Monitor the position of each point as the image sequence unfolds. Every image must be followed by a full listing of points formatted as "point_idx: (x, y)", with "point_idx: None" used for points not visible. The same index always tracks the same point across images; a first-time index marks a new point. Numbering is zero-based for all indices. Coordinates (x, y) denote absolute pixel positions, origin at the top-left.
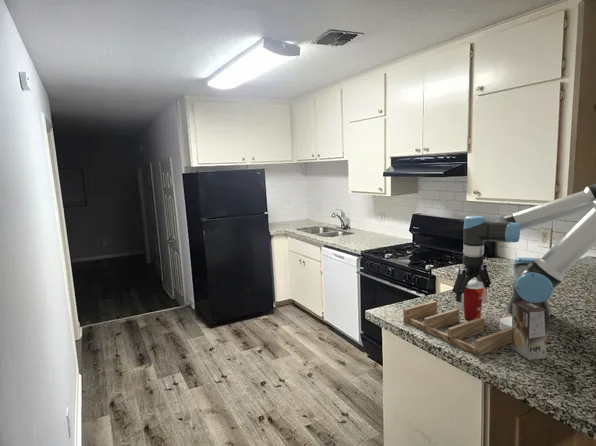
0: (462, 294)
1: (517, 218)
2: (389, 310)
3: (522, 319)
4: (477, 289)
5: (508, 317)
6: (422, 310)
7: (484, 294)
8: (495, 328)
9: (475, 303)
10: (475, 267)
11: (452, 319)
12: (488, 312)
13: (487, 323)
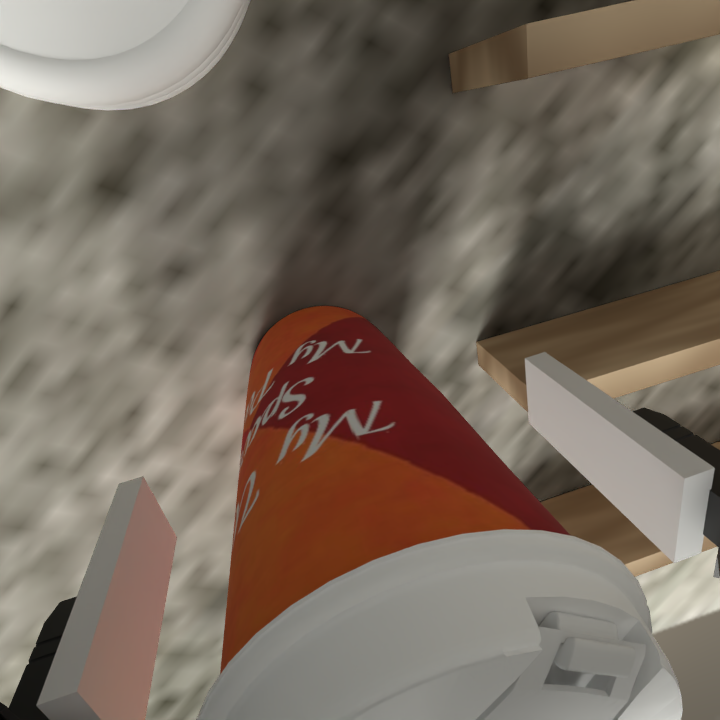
0: (707, 476)
1: None
2: (688, 586)
3: None
4: (506, 531)
5: (24, 53)
6: None
7: (118, 581)
8: (282, 57)
9: (409, 381)
10: None
11: (568, 334)
12: (80, 444)
13: (273, 213)
